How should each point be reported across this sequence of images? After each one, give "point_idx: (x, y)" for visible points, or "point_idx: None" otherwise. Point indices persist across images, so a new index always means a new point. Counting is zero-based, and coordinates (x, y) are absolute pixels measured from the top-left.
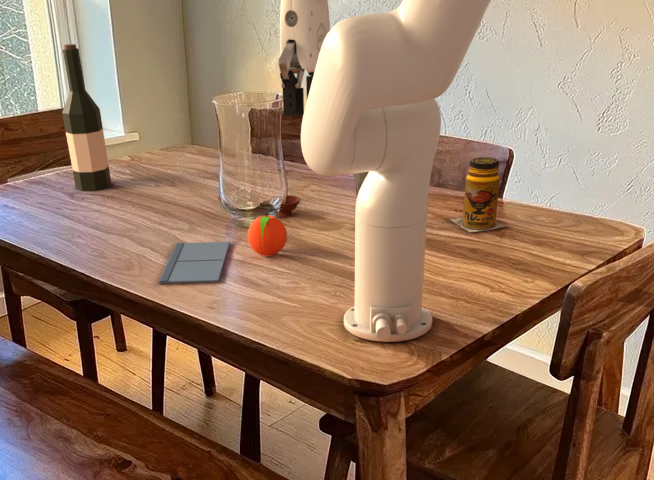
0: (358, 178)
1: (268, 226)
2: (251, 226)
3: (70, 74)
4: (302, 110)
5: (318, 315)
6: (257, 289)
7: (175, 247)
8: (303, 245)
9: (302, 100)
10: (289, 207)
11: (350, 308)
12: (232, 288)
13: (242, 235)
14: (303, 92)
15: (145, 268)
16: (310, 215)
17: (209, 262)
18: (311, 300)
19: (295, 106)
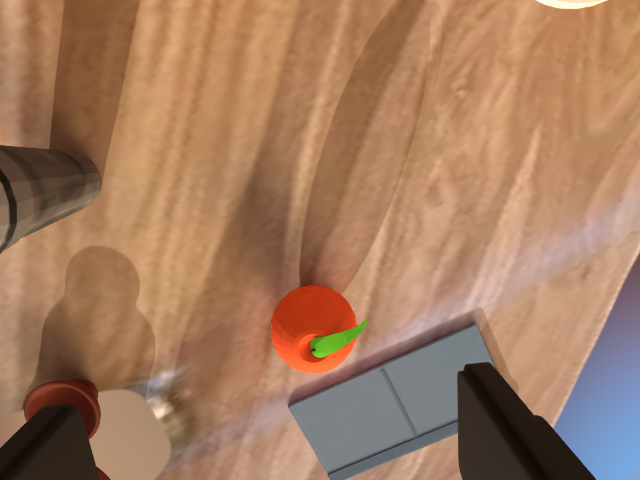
0: (26, 222)
1: (340, 324)
2: (340, 362)
3: None
4: (501, 378)
5: (570, 72)
6: (484, 241)
7: (355, 473)
8: (235, 272)
9: (538, 421)
10: (85, 387)
11: (569, 2)
12: (493, 285)
13: (233, 407)
14: (544, 470)
15: (452, 465)
16: (56, 345)
17: (401, 383)
18: (506, 119)
19: (550, 430)
